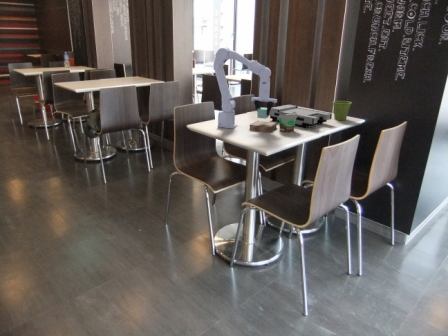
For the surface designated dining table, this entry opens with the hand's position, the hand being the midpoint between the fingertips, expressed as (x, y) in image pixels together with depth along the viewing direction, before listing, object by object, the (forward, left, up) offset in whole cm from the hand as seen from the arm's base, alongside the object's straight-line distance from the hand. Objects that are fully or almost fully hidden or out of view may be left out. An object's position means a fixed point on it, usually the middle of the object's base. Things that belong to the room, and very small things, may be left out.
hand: (263, 114), depth 194 cm
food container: (+15, +3, -9) cm, 18 cm away
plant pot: (+35, +49, -9) cm, 61 cm away
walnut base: (0, +1, -8) cm, 8 cm away
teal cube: (0, 0, -2) cm, 2 cm away
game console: (+14, +27, -9) cm, 31 cm away
